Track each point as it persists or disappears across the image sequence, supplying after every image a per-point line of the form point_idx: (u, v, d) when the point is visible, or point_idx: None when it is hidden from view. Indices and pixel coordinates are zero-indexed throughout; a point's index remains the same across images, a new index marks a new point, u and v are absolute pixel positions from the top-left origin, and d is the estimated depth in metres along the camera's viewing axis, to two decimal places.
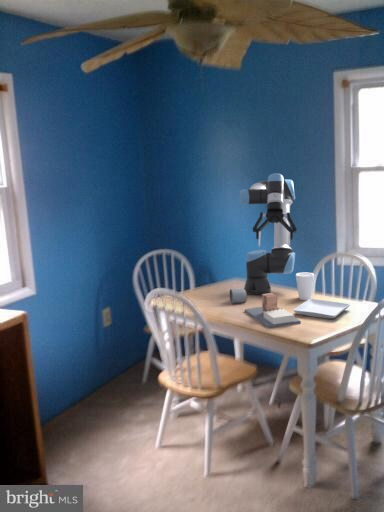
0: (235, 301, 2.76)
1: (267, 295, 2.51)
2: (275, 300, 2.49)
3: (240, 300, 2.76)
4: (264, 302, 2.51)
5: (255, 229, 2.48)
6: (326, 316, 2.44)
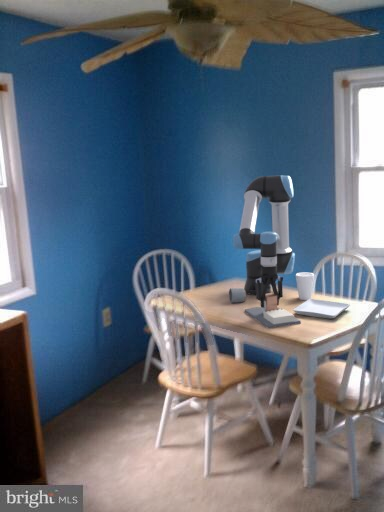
0: (234, 300, 2.77)
1: (267, 295, 2.51)
2: (275, 300, 2.49)
3: (239, 299, 2.77)
4: None
5: (260, 298, 2.49)
6: (326, 316, 2.44)
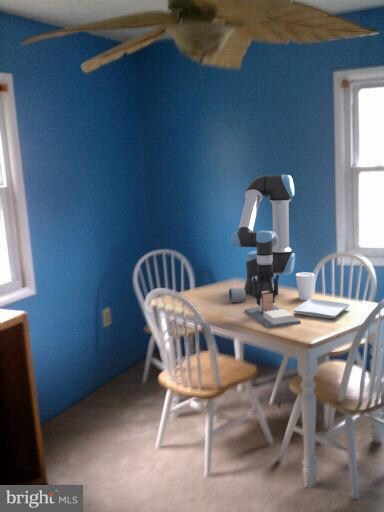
0: (234, 300, 2.77)
1: (263, 292, 2.55)
2: (271, 298, 2.54)
3: (239, 299, 2.77)
4: None
5: (256, 295, 2.54)
6: (326, 316, 2.44)
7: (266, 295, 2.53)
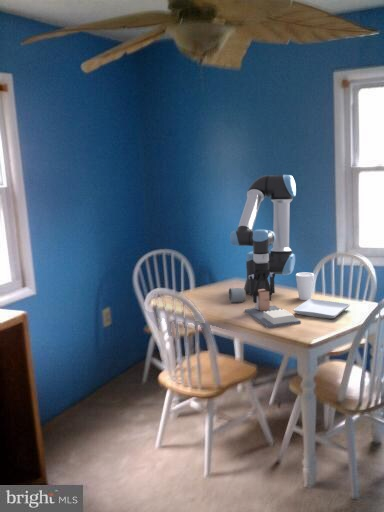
0: (234, 300, 2.78)
1: (260, 291, 2.59)
2: (267, 296, 2.58)
3: (239, 299, 2.78)
4: None
5: None
6: (326, 316, 2.44)
7: (262, 293, 2.57)
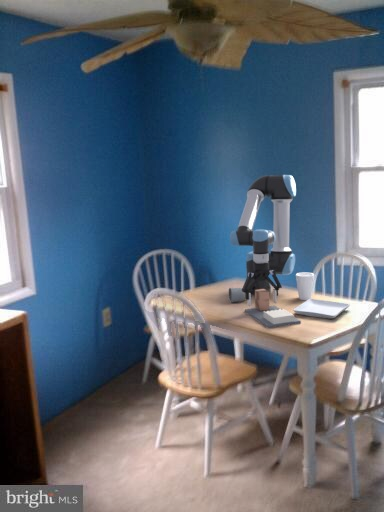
0: (234, 300, 2.78)
1: (260, 290, 2.59)
2: (267, 296, 2.58)
3: (239, 299, 2.78)
4: (257, 297, 2.60)
5: None
6: (326, 316, 2.44)
7: (262, 293, 2.57)
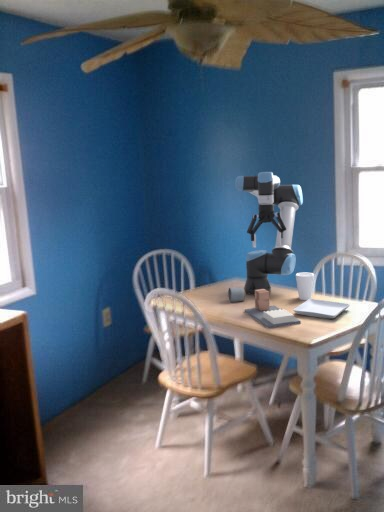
0: (234, 300, 2.79)
1: (260, 290, 2.59)
2: (267, 296, 2.58)
3: (239, 299, 2.79)
4: (257, 297, 2.60)
5: (250, 232, 2.61)
6: (326, 316, 2.44)
7: (262, 293, 2.57)
